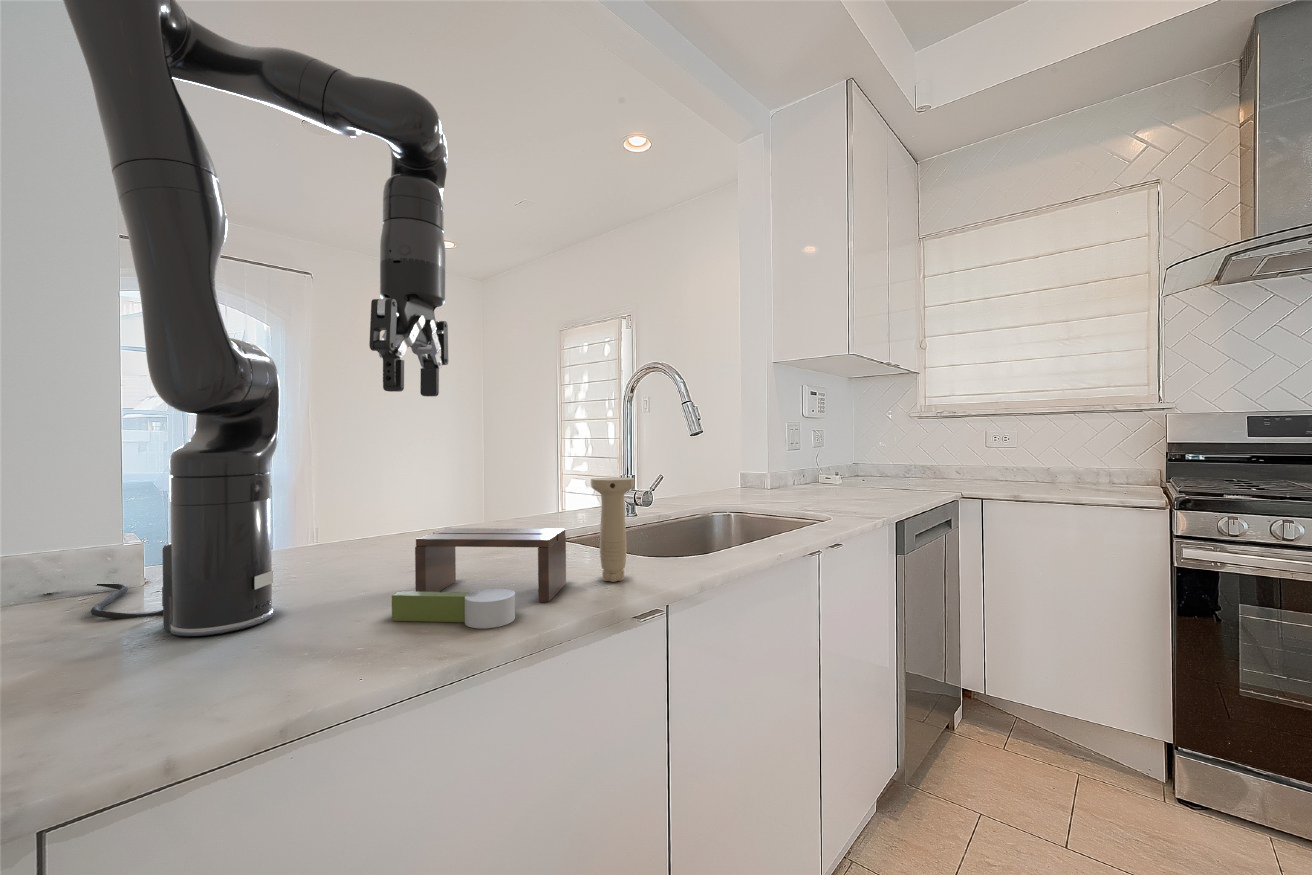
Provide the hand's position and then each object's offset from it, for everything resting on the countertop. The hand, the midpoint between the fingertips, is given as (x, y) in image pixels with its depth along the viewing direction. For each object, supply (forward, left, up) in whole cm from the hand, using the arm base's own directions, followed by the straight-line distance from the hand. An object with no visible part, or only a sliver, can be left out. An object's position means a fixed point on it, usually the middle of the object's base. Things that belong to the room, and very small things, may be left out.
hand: (412, 394), depth 70 cm
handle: (+23, +15, -27) cm, 38 cm away
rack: (+7, +8, -27) cm, 29 cm away
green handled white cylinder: (+7, -4, -27) cm, 28 cm away
